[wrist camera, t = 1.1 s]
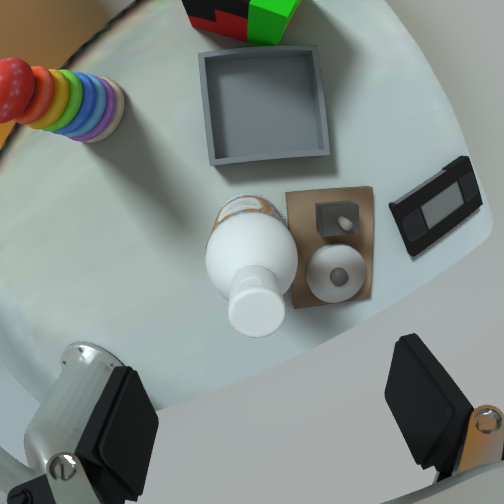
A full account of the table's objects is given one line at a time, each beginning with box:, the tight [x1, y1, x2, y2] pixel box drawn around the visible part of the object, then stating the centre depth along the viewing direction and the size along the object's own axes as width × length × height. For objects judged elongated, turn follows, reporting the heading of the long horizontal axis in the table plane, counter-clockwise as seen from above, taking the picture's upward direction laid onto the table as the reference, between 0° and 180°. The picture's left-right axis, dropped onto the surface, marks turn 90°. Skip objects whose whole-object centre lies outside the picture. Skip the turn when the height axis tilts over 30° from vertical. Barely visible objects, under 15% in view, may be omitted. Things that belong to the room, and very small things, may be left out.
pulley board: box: [285, 186, 373, 309], centre depth 32 cm, size 14×10×6 cm
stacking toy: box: [0, 58, 125, 143], centre depth 20 cm, size 8×8×19 cm
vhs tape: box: [389, 156, 483, 257], centre depth 33 cm, size 8×14×2 cm, turn 123°
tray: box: [198, 45, 330, 166], centre depth 28 cm, size 12×12×3 cm
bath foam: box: [206, 193, 298, 338], centre depth 24 cm, size 7×7×20 cm
